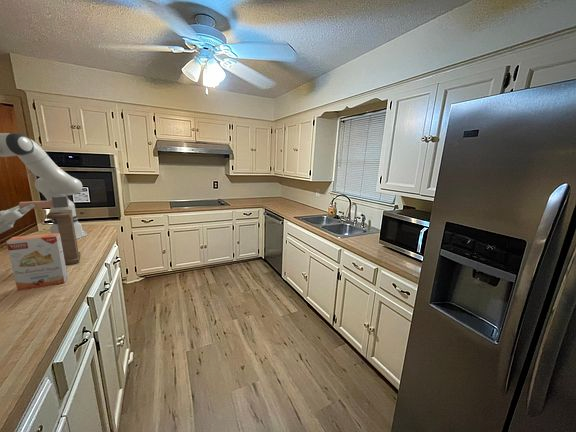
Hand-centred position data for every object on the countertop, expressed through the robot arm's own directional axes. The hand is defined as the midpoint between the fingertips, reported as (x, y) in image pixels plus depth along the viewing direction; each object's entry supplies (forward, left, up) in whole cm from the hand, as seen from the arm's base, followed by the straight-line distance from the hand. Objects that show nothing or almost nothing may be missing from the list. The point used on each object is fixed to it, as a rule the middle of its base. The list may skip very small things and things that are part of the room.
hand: (35, 203), depth 111 cm
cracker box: (+25, +2, -30) cm, 39 cm away
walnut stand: (0, +8, -30) cm, 31 cm away
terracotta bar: (0, +4, -2) cm, 5 cm away
